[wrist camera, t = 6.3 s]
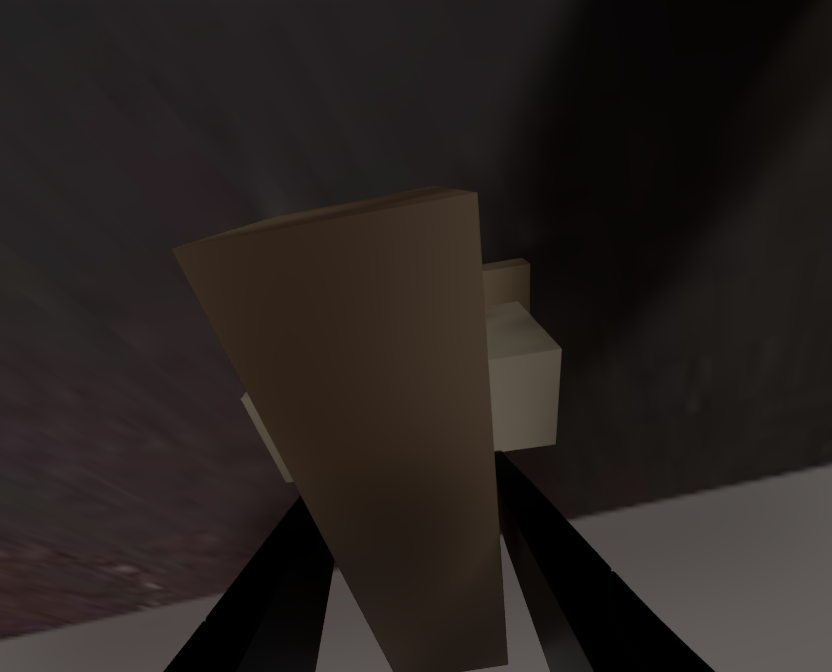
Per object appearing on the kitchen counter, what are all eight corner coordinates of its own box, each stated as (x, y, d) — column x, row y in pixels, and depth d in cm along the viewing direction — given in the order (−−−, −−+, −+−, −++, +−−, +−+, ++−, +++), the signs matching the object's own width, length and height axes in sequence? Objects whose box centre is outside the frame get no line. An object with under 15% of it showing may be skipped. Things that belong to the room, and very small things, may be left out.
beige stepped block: (521, 257, 13) (583, 299, 8) (522, 389, 16) (566, 470, 12) (269, 300, 13) (202, 361, 9) (318, 420, 17) (287, 509, 12)
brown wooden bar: (435, 186, 7) (477, 192, 4) (477, 536, 13) (507, 664, 10) (282, 214, 7) (172, 248, 4) (397, 549, 14) (398, 681, 10)
